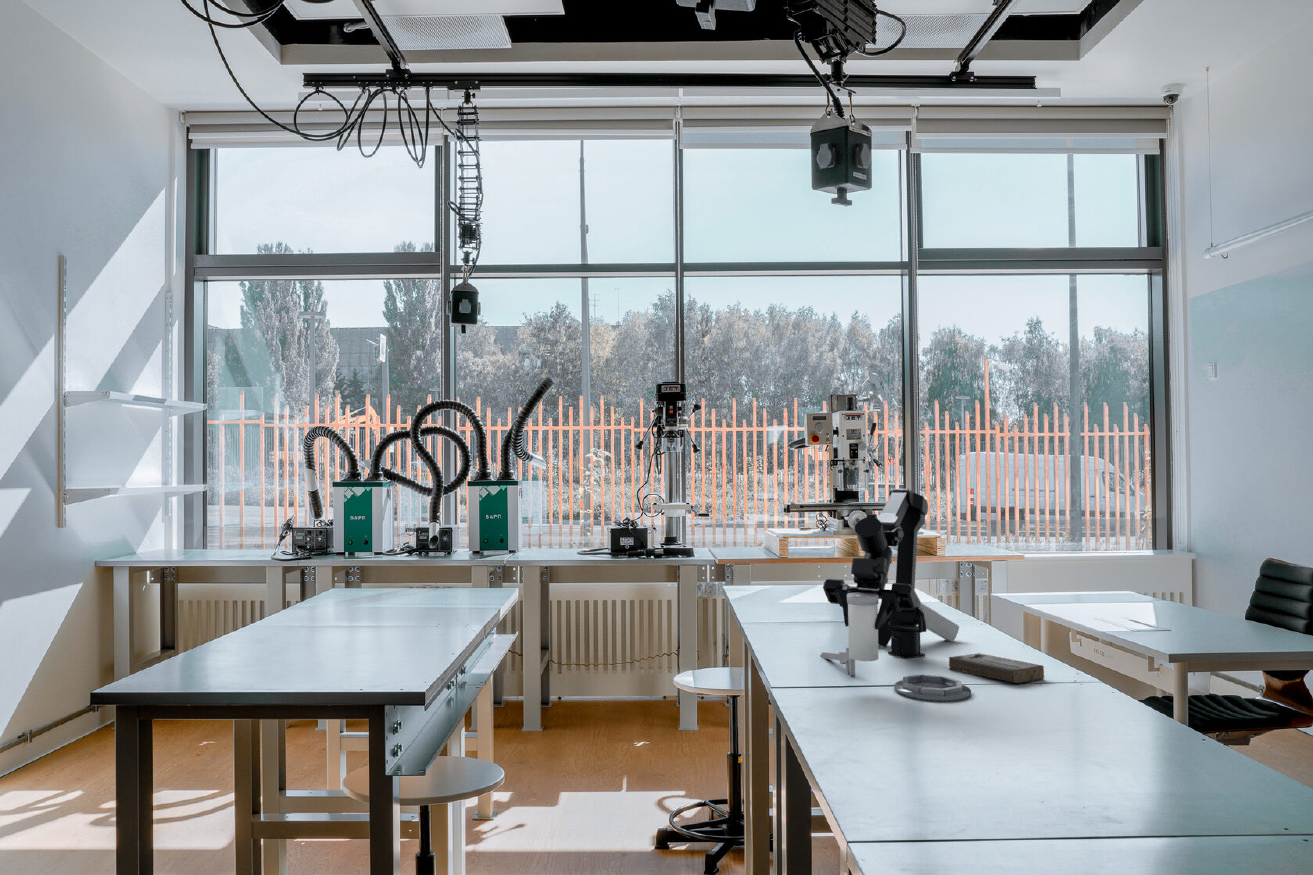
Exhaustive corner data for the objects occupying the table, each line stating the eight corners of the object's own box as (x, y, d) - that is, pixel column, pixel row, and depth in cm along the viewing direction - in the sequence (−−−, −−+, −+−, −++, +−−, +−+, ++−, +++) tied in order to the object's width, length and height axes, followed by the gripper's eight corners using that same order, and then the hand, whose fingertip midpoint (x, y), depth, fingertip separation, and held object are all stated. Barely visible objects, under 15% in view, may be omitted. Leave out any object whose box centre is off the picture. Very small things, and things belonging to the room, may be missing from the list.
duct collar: (931, 679, 180) (931, 669, 180) (987, 695, 167) (987, 685, 167) (878, 688, 173) (878, 678, 173) (932, 706, 160) (932, 695, 160)
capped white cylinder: (865, 652, 177) (864, 591, 177) (886, 659, 171) (885, 595, 171) (841, 656, 174) (840, 594, 174) (862, 662, 168) (860, 598, 168)
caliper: (855, 677, 183) (855, 649, 183) (850, 678, 183) (850, 649, 183) (824, 656, 203) (823, 631, 203) (819, 657, 203) (819, 631, 203)
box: (1013, 685, 174) (1013, 670, 174) (947, 670, 189) (947, 656, 189) (1046, 680, 179) (1045, 665, 179) (979, 665, 194) (979, 652, 194)
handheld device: (865, 637, 215) (889, 585, 217) (931, 674, 220) (954, 622, 222) (873, 640, 211) (898, 587, 213) (939, 677, 216) (963, 625, 218)
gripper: (825, 541, 181) (807, 599, 171) (911, 545, 172) (898, 607, 162) (837, 573, 188) (821, 631, 178) (921, 578, 178) (909, 640, 168)
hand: (861, 626), depth 171 cm, fingers closed on capped white cylinder, 6 cm apart
